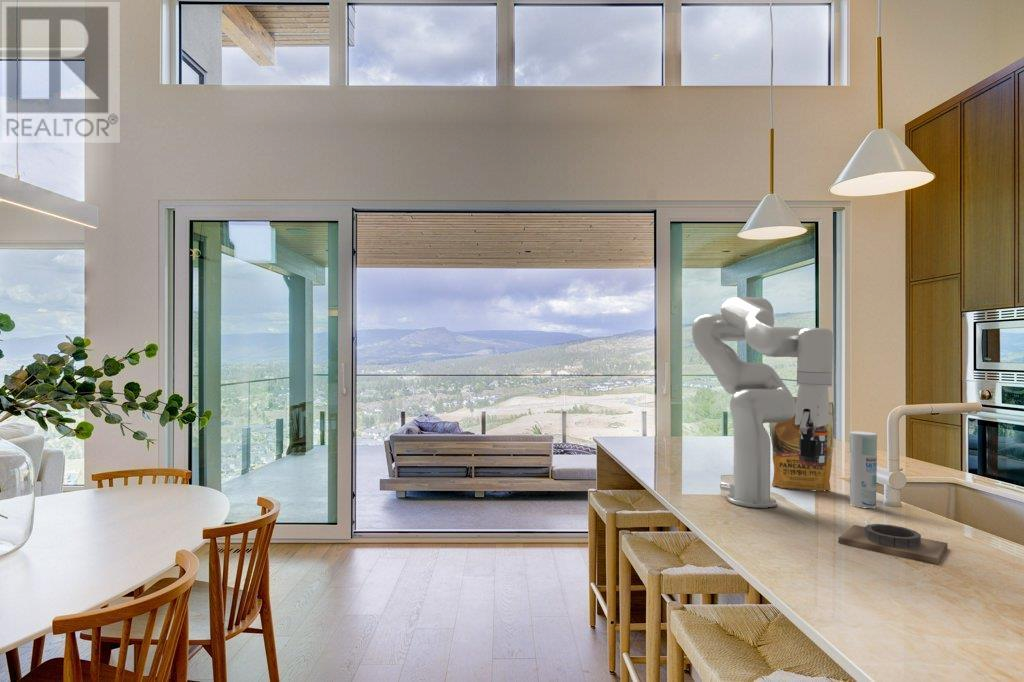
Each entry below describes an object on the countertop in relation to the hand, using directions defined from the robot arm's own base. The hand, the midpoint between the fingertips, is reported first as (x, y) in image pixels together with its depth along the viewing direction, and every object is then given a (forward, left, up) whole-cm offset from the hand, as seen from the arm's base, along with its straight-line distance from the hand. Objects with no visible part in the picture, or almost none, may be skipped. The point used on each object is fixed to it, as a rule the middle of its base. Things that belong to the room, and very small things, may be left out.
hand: (812, 453), depth 140 cm
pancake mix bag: (-16, +41, -18) cm, 48 cm away
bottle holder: (+16, 0, -18) cm, 24 cm away
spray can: (+3, +32, -18) cm, 37 cm away
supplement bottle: (0, 0, -3) cm, 3 cm away
